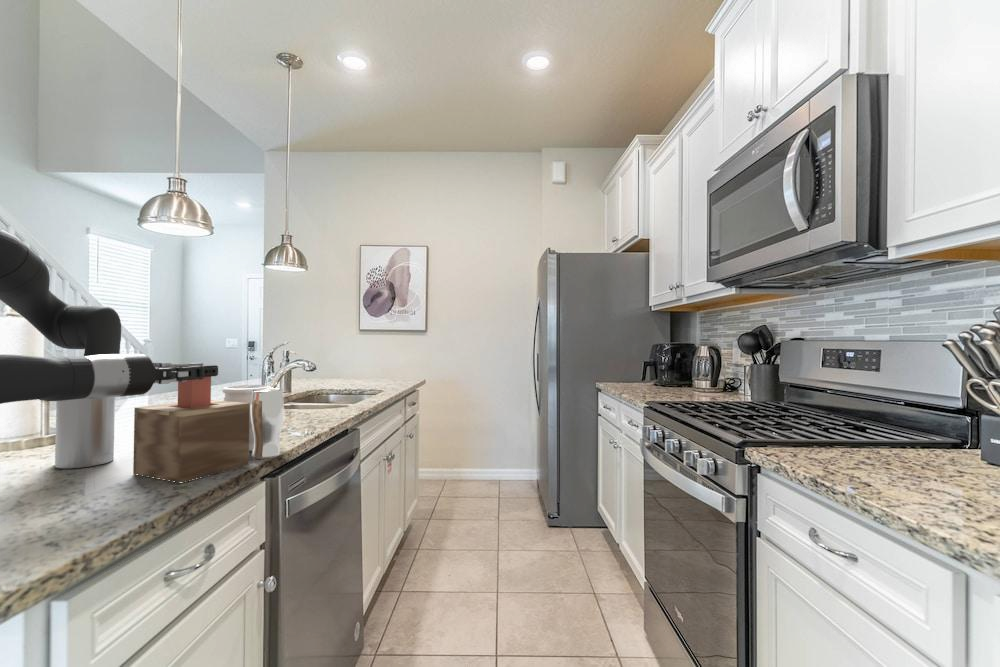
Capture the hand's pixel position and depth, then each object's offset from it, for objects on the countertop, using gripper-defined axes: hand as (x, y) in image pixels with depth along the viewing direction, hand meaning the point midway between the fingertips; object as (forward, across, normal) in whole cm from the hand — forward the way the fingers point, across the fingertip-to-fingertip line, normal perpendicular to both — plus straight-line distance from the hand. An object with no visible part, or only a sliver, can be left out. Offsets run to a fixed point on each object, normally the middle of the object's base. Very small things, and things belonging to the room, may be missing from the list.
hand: (207, 370), depth 96 cm
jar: (+14, +6, +20) cm, 25 cm away
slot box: (-3, 0, +20) cm, 20 cm away
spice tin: (-3, 0, +10) cm, 10 cm away
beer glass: (+11, -4, +20) cm, 24 cm away
